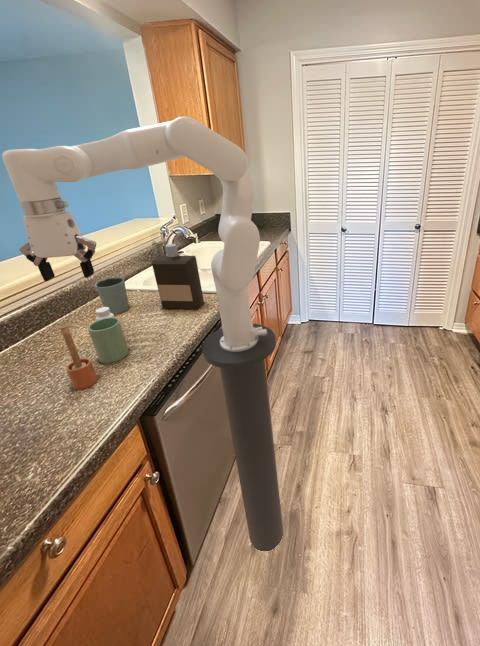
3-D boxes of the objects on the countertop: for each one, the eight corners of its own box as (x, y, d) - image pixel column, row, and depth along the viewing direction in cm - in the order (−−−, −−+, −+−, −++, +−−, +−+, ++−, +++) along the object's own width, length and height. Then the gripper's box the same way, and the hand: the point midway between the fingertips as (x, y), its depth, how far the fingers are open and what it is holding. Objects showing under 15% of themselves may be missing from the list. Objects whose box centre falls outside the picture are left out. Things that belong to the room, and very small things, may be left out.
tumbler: (131, 345, 104) (122, 315, 100) (125, 360, 97) (115, 328, 92) (104, 350, 102) (93, 319, 98) (95, 365, 95) (83, 333, 91)
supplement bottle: (101, 340, 108) (93, 314, 104) (100, 333, 112) (92, 308, 108) (119, 335, 110) (112, 309, 106) (118, 329, 115) (110, 304, 111)
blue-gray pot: (118, 302, 135) (110, 276, 131) (137, 305, 132) (130, 278, 127) (97, 313, 127) (88, 285, 122) (117, 316, 123) (108, 288, 119)
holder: (100, 374, 91) (93, 356, 89) (93, 387, 86) (86, 368, 84) (78, 377, 90) (71, 360, 88) (69, 391, 85) (62, 372, 83)
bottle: (170, 300, 135) (156, 242, 125) (206, 301, 132) (195, 242, 122) (159, 309, 127) (144, 248, 118) (197, 310, 125) (185, 248, 115)
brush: (93, 376, 89) (73, 323, 82) (87, 384, 86) (66, 329, 80) (81, 377, 89) (61, 323, 82) (75, 385, 86) (52, 330, 79)
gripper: (91, 202, 77) (112, 269, 84) (16, 207, 77) (44, 274, 84) (73, 208, 70) (97, 280, 77) (-9, 213, 70) (23, 286, 77)
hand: (69, 277), depth 80 cm, fingers open, 9 cm apart
